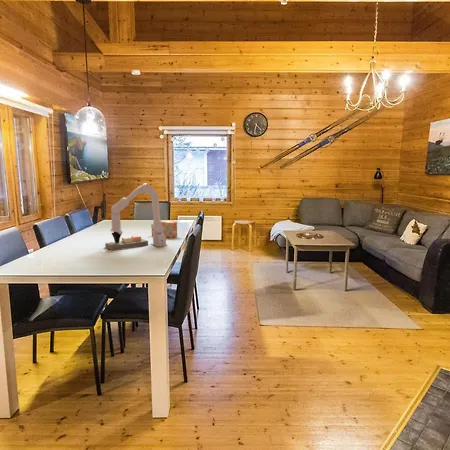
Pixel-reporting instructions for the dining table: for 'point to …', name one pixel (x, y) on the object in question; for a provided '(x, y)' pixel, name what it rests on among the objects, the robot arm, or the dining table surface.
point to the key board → (126, 245)
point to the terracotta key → (136, 238)
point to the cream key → (126, 239)
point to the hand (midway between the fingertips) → (117, 243)
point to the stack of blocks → (168, 228)
